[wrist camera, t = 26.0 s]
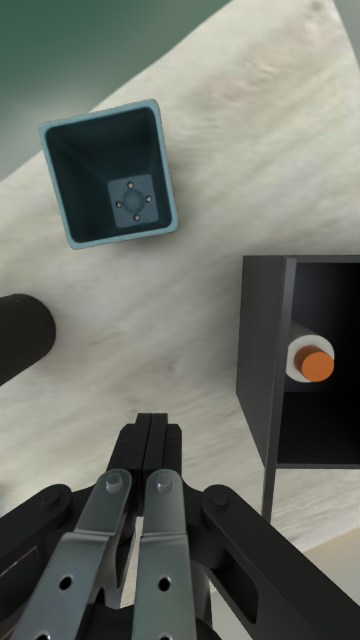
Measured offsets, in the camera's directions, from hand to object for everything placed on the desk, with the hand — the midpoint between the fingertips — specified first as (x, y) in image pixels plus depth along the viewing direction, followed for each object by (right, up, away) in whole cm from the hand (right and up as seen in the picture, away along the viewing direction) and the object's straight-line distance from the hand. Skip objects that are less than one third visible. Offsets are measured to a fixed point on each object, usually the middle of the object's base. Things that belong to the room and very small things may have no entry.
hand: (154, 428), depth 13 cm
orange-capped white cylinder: (+12, +4, +17) cm, 22 cm away
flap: (+7, 0, +2) cm, 7 cm away
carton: (+16, +4, +17) cm, 24 cm away
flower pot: (-4, +18, +15) cm, 24 cm away
